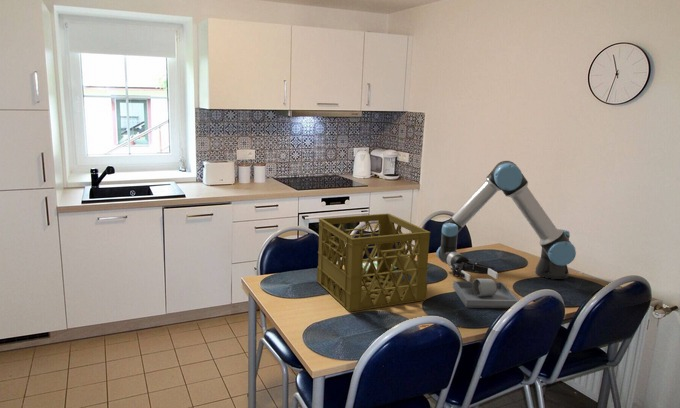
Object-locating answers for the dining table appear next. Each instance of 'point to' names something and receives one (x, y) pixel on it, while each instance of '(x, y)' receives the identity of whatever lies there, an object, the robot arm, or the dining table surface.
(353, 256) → the milk crate
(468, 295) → the tray
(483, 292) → the ceramic mug
